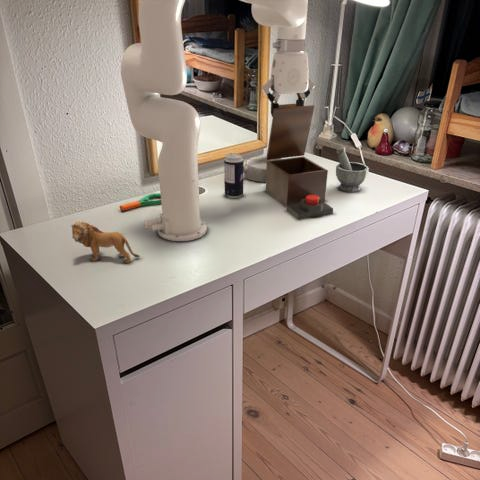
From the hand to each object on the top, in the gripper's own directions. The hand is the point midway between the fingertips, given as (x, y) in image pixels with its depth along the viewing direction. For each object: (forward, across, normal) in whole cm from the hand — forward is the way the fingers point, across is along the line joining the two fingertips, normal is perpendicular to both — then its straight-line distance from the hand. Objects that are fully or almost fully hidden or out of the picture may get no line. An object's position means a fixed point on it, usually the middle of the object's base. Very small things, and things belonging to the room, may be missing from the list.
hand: (286, 115), depth 142 cm
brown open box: (+21, 0, -8) cm, 23 cm away
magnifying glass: (+22, -44, +2) cm, 49 cm away
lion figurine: (+22, -60, -28) cm, 70 cm away
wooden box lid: (+4, 0, -3) cm, 5 cm away
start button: (+18, -2, -22) cm, 29 cm away
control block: (+21, -2, -21) cm, 30 cm away
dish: (+22, -1, +12) cm, 25 cm away
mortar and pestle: (+22, +19, -8) cm, 30 cm away
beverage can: (+22, -17, -1) cm, 28 cm away
